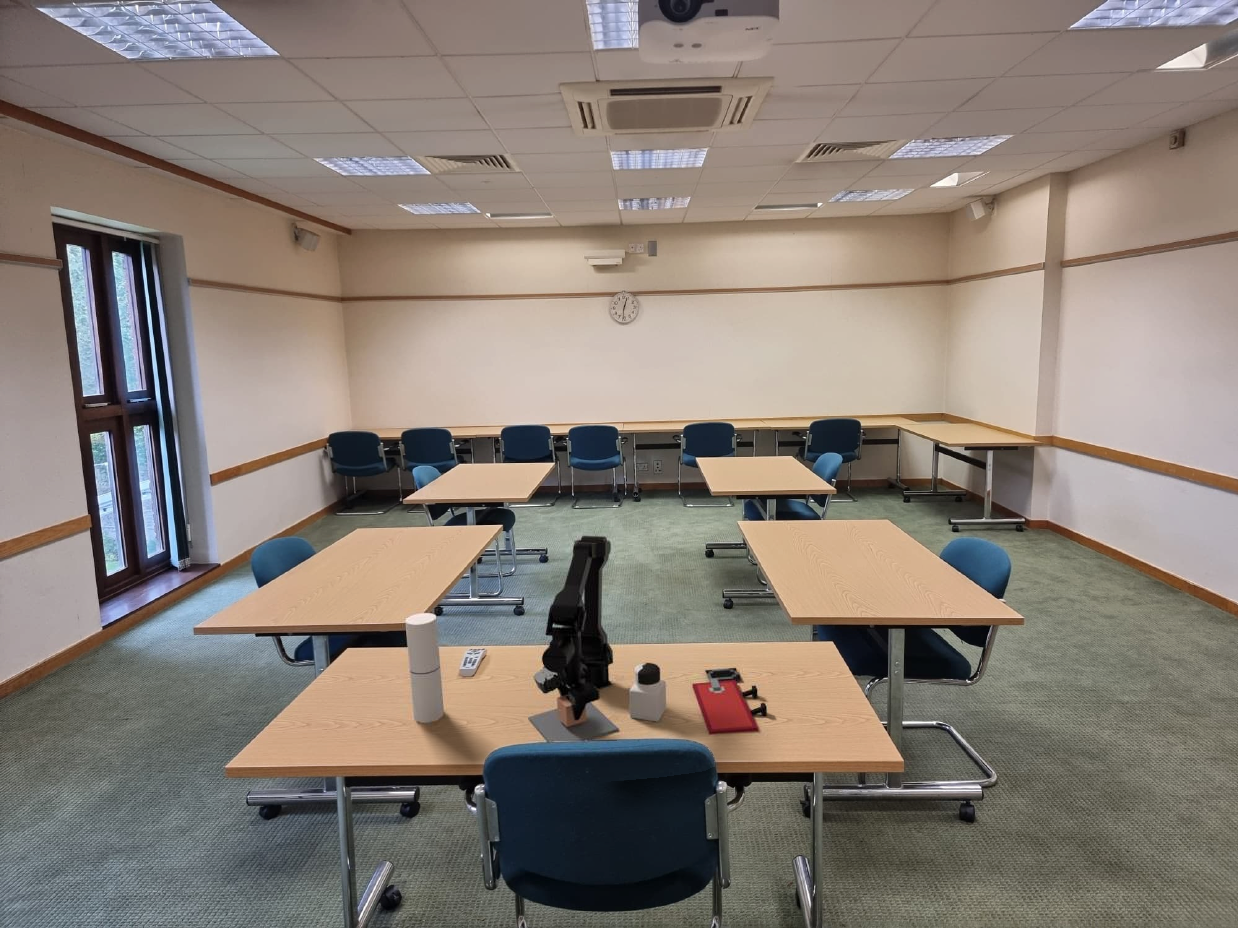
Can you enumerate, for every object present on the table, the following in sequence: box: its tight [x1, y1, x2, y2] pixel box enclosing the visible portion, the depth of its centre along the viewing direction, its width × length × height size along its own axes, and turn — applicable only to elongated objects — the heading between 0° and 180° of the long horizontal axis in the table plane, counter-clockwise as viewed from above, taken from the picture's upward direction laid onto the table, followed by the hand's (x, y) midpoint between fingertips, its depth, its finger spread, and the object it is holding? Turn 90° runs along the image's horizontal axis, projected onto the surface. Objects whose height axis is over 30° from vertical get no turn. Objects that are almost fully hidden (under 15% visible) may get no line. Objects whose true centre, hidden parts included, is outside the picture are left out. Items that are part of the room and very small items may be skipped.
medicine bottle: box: [629, 662, 667, 723], centre depth 169 cm, size 7×7×12 cm
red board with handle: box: [691, 667, 768, 735], centre depth 175 cm, size 30×3×15 cm
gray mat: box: [527, 702, 620, 743], centre depth 166 cm, size 16×16×1 cm
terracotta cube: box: [556, 694, 586, 727], centre depth 165 cm, size 5×5×5 cm
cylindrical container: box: [405, 612, 445, 724], centre depth 170 cm, size 7×7×25 cm
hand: (572, 714), depth 166 cm, fingers closed on terracotta cube, 5 cm apart
